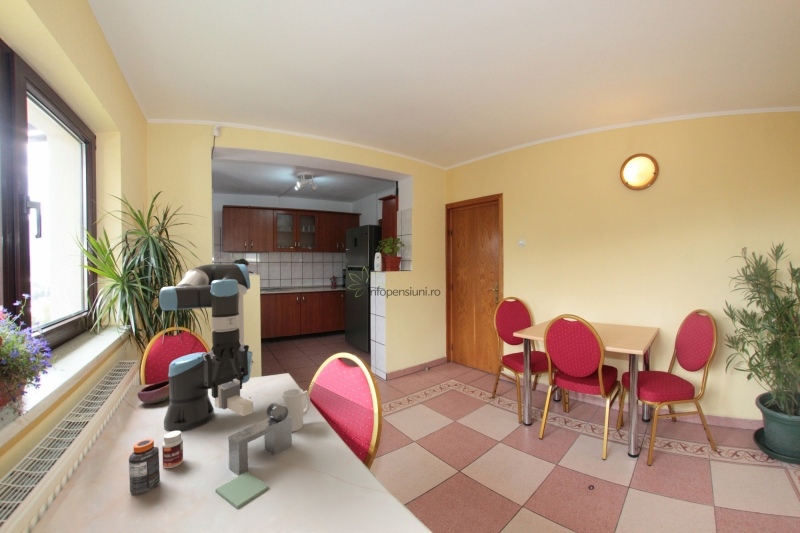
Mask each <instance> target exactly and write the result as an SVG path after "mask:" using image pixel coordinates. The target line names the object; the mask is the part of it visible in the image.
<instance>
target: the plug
mask: <svg viewBox="0 0 800 533" xmlns="http://www.w3.org/2000/svg"><path fill="white" fill-rule="evenodd" d="M219 386H221V397H222V408H221V409H222V410H227V409H228V410H230V411H232V412H234V413H235V414H237V415H240V416H242V417H245V416H247V415H250V414H252V413H254V401H252V400H249V399H247V398H244V397H243V396H241V389H240V384H237V383H235V382H232V381H231V382H228V383H224V384H221V385H219Z"/></svg>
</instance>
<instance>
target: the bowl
mask: <svg viewBox="0 0 800 533" xmlns="http://www.w3.org/2000/svg"><path fill="white" fill-rule="evenodd" d="M137 397H138V400H139V401H141V402H142V403H144V404H151V403H152V404H156V403H157V402H158V403H160V402H164V401H166V400H167V399H168V398H170V397H169V379H166V380H163V381H159V382H155V383H152V384H149V385H147V386H145V387H143V388H142V389H140V390H139V391H138V393H137ZM163 400H164V401H163Z"/></svg>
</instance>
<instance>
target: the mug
mask: <svg viewBox="0 0 800 533" xmlns="http://www.w3.org/2000/svg"><path fill="white" fill-rule="evenodd" d="M308 392H309V391H308V390H303V389H302V388H290V389H287V390H284V391H283V392H281V399H282V400H281V402H282V404H281V405H282V406H284V407H287V408H288V415H289V416H291V421H292V432H297V431H299V430H301V429H302V428H303V427H304V416H305V415H308V413H309V409H310V405H311V398H310V394H309V393H308ZM304 397H305V398H306V405H305V408H304Z"/></svg>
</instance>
